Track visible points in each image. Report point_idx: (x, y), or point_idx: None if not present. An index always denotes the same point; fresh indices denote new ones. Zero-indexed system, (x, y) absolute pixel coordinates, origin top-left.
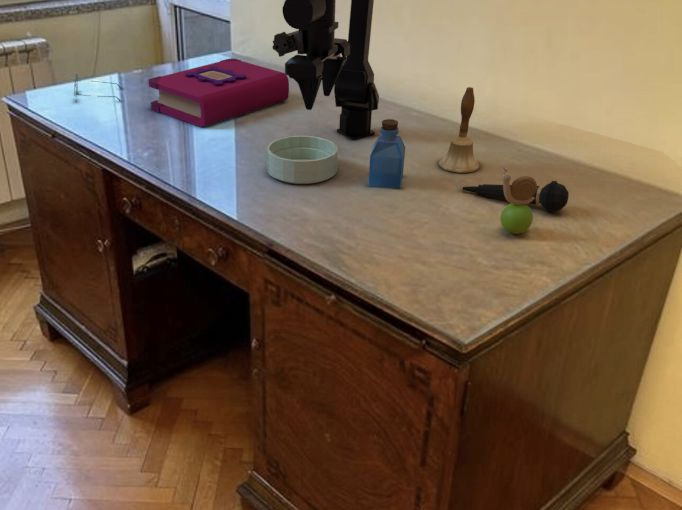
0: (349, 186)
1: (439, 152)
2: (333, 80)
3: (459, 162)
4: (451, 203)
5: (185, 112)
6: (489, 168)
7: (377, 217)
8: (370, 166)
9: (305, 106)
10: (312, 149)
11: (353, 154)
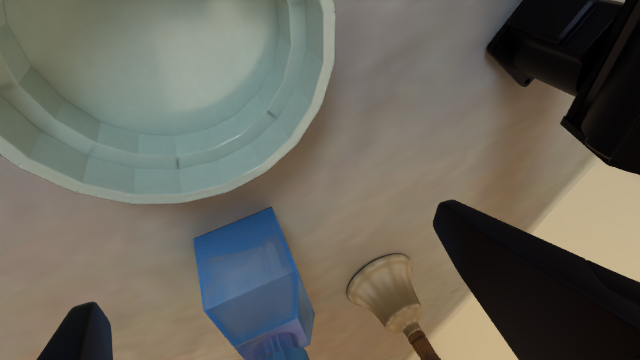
0: (158, 210)
1: (432, 231)
2: (505, 329)
3: (363, 303)
4: (215, 351)
5: None
6: None
7: (34, 338)
8: (201, 284)
9: (59, 329)
10: (290, 28)
11: (383, 103)
